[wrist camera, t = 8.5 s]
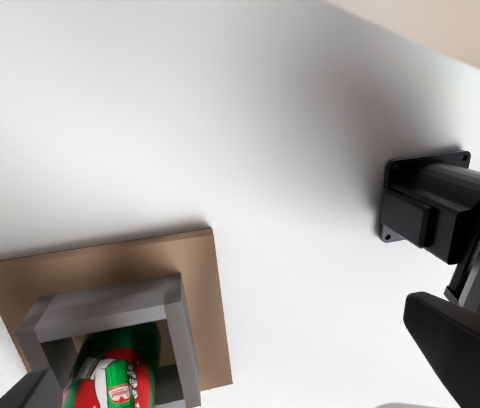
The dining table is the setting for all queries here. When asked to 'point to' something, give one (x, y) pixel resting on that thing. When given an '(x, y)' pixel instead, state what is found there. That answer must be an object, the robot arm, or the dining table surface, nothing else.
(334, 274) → the dining table surface
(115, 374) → the soda can
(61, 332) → the keeper board
